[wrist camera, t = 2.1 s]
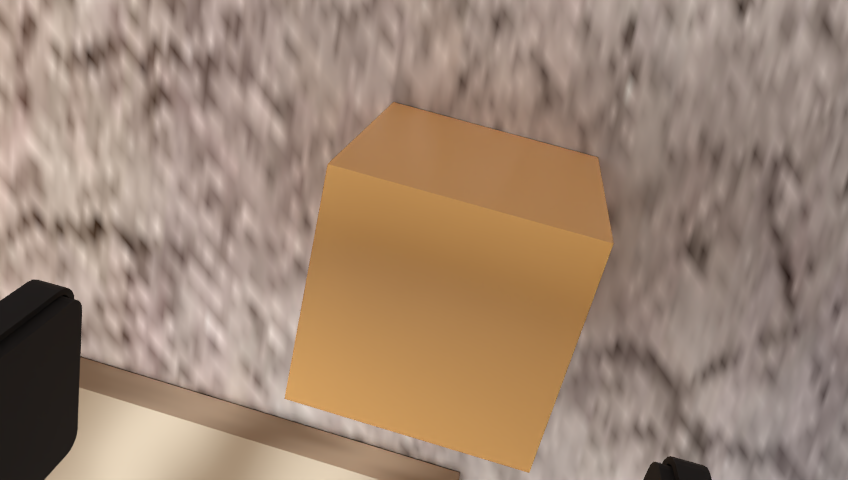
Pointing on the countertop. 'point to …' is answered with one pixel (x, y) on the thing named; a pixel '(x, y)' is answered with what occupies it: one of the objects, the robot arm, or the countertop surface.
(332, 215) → the tan matte cube
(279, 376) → the countertop surface
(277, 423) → the post board
